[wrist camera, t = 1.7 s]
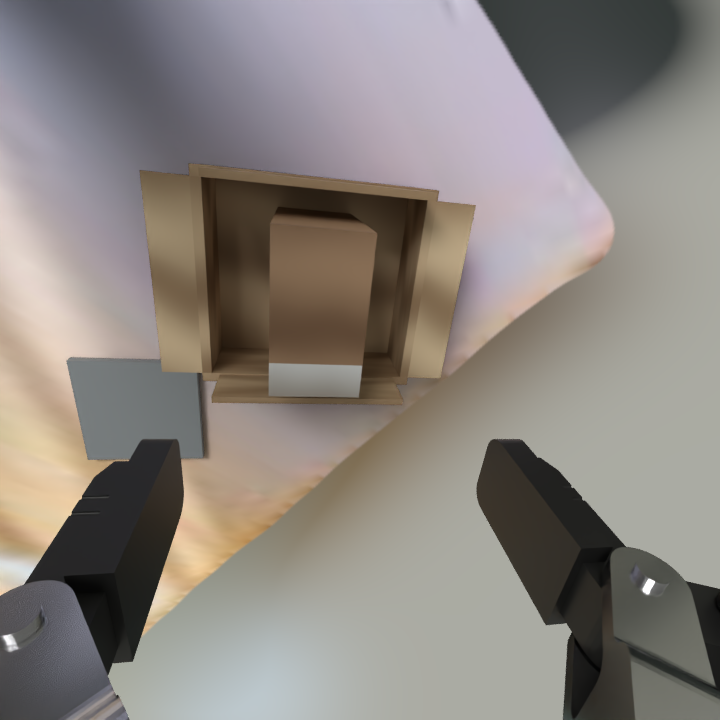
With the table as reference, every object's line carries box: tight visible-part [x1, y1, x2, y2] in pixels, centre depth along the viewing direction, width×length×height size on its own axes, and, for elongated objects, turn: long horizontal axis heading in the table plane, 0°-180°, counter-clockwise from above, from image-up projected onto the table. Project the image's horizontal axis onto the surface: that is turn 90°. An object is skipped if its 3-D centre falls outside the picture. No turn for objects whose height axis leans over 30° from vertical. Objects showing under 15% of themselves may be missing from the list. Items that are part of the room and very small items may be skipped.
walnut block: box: [269, 207, 377, 397], centre depth 25 cm, size 9×5×10 cm, turn 174°
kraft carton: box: [140, 163, 476, 405], centre depth 26 cm, size 13×19×8 cm
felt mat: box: [67, 357, 204, 460], centre depth 32 cm, size 9×9×1 cm
